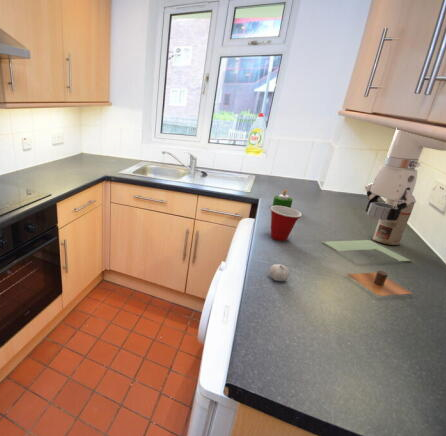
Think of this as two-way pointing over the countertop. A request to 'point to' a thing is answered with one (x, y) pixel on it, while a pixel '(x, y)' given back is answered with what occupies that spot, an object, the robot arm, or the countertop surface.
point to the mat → (362, 247)
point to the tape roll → (379, 210)
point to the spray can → (392, 226)
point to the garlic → (279, 272)
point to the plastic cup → (282, 221)
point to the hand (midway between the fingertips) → (380, 215)
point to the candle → (282, 200)
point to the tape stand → (379, 283)
